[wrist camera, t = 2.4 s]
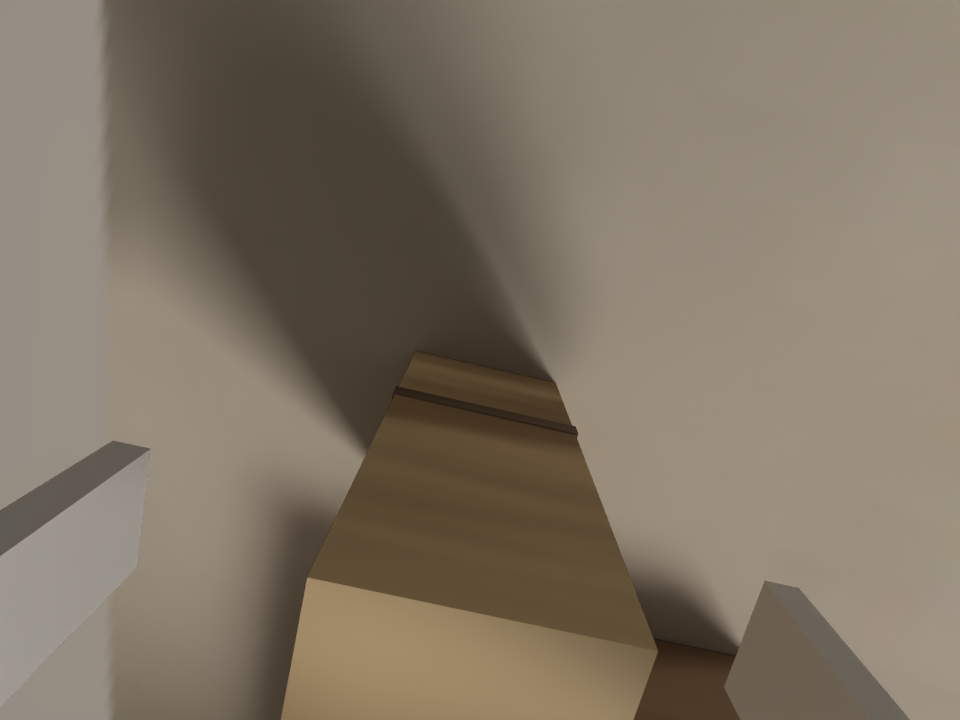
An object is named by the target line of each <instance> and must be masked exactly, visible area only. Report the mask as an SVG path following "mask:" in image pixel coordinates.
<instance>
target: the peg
mask: <svg viewBox="0 0 960 720" xmlns="http://www.w3.org/2000/svg"><path fill="white" fill-rule="evenodd" d="M577 436H578V432H577V429H576V427H575V426H572V424H571V422H570V419H569V416H568V414H567V411H566V409H565V406H564V403H563V401H562V398H561V396H560V393H559V390H558V388H557V385H556V383H553V382H549V381H545V380H540V379H536V378H532V377H527V376H523V375H519V374H514V373H510V372H505V371H501V370H497V369H492V368H488V367H484V366H479V365H475V364H470V363H466V362H462V361H457V360H453V359H449V358H444V357H440V356H436V355H431V354H427V353H422V352H418V351H416V352H415V354H414V356H413V358H412V360H411V362H410V364H409V366H408V369H407V371H406V373H405V375H404V377H403V379H402V381H401V383H400V385H399V387H398V386H396V388H395V390H394V392H393V397H392V401H391V404H390V406H389V408H388V410H387V412H386V414H385V416H384V419H383V421H382V423H381V425H380V427H379V429H378V431H377V433H376V435H375V437H374V439H373V441H372V444H371V446H370V448H369V450H368V452H367V454H366V456H365V458H364V460H363V462H362V464H361V466H360V469H359V471H358V473H357V475H356V477H355V479H354V481H353V483H352V485H351V487H350V489H349V491H348V494H347V496H346V498H345V500H344V502H343V504H342V506H341V508H340V510H339V512H338V514H337V516H336V519H335V521H334V523H333V525H332V527H331V529H330V531H329V533H328V535H327V537H326V539H325V541H324V544H323V546H322V548H321V550H320V552H319V554H318V556H317V558H316V560H315V562H314V564H313V566H312V569H311V571H310V573H309V575H308V577H307V581H306V587H305V592H304V597H303V603H302V608H301V614H300V619H299V624H298V630H297V635H296V640H295V646H294V651H293V656H292V662H291V667H290V673H289V678H288V683H287V689H286V694H285V699H284V705H283V710H282V715H281V720H634V717H635V714H636V711H637V709H638V706H639V703H640V700H641V698H642V695H643V692H644V689H645V686H646V684H647V681H648V678H649V675H650V672H651V670H652V667H653V664H654V661H655V659H656V656H657V653H658V649H657V647H656V644H655V641H654V639H653V636H652V634H651V631H650V628H649V626H648V623H647V621H646V618H645V615H644V613H643V610H642V607H641V605H640V602H639V600H638V597H637V594H636V592H635V589H634V587H633V584H632V581H631V579H630V576H629V573H628V571H627V568H626V566H625V563H624V560H623V558H622V555H621V553H620V550H619V547H618V545H617V542H616V539H615V537H614V534H613V532H612V529H611V526H610V524H609V521H608V518H607V516H606V513H605V511H604V508H603V505H602V503H601V500H600V498H599V495H598V492H597V490H596V487H595V484H594V482H593V479H592V477H591V474H590V471H589V469H588V466H587V464H586V461H585V458H584V456H583V453H582V450H581V448H580V445H579V443H578V440H577Z"/></svg>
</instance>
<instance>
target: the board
mask: <svg viewBox="0 0 960 720" xmlns="http://www.w3.org/2000/svg"><path fill="white" fill-rule="evenodd" d="M654 641H655V644H656V647H657V649H658V653H657V656H656V659H655V661H654V664H653V667H652V670H651V672H650V675H649V678H648V681H647V684H646V686H645V689H644V692H643V695H642V698H641V700H640V703H639V706H638V709H637V711H636V714H635V717H634V720H740V718H739V716H738V714H737V712H736V710H735V708H734V706H733V704H732V702H731V700H730V698H729V696H728V694H727V692H726V690H725V688H724V686H725V683H726V681H727V678H728V675H729V673H730V670H731V668H732V665H733V662H734V660H735V657H736V656H732V655H727V654H722V653H717V652H713V651H708V650H703V649H698V648H694V647H689V646H684V645H679V644H675V643H670V642H665V641H660V640H656V639H654Z"/></svg>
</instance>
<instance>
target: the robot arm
mask: <svg viewBox="0 0 960 720" xmlns="http://www.w3.org/2000/svg"><path fill="white" fill-rule="evenodd" d="M150 451H151V449H149V448H145V447H140V446H136V445H131V444H126V443H122V442H117V441H112V442H110V443H108V444H107V445H105V446H104V447H102V448H100V449H99V450H97V451H95V452H94V453H92V454H91V455H89V456H87V457H86V458H84V459H83V460H81V461H79V462H78V463H76V464H74V465H73V466H71V467H70V468H68V469H66V470H65V471H63V472H62V473H60V474H58V475H57V476H55V477H53V478H52V479H50V480H49V481H47V482H45V483H44V484H42V485H41V486H39V487H37V488H36V489H34V490H32V491H31V492H29V493H28V494H26V495H24V496H23V497H21V498H19V499H18V500H16V501H15V502H13V503H11V504H10V505H8V506H7V507H5V508H3V509H2V510H0V707H1V706H2V705H3V704H4V703H5V702H6V701H7V700H8V699H9V698H10V697H11V696H12V695H13V694H14V693H15V692H16V691H17V690H18V689H19V688H20V687H21V686H22V685H23V684H24V683H25V682H26V681H27V680H28V678H29V677H30V676H31V675H32V674H33V673H34V672H35V671H36V670H37V669H38V668H39V667H40V666H41V665H42V664H43V663H44V662H45V661H46V660H47V659H48V658H49V657H50V656H51V655H52V654H53V653H54V652H55V651H56V650H57V649H58V648H59V647H60V646H61V644H62V643H64V641H65V640H66V639H67V638H68V637H69V636H70V635H71V634H72V633H73V632H74V631H75V630H76V629H77V628H78V627H79V626H80V625H81V624H82V623H83V622H84V621H85V620H86V619H87V618H88V617H89V616H90V615H91V614H92V613H93V612H94V611H95V609H97V607H99V606H100V604H101V603H102V602H103V601H104V600H105V599H106V598H107V597H108V596H109V595H110V594H111V593H112V592H113V591H114V590H115V589H116V588H117V587H118V586H119V585H120V584H121V583H122V582H123V581H124V580H125V579H126V578H127V577H128V576H129V575H130V574H131V573H132V572H133V571H134V570H135V568H136V567H137V563H138V554H139V545H140V537H141V528H142V520H143V511H144V503H145V494H146V486H147V477H148V469H149V460H150ZM724 688H725V690H726V692H727V694H728V696H729V698H730V700H731V702H732V704H733V706H734V708H735V710H736V712H737V714H738V716H739V718H740V720H910V719H909V718H908V717H907V716H906V714H905V713H904V712H903V711H902V710H901V709H900V707H899V706H898V705H897V704H896V703H895V701H894V700H893V699H892V698H891V697H890V695H889V694H888V693H887V692H886V691H885V690H884V688H883V687H882V686H881V685H880V684H879V682H878V681H877V680H876V679H875V678H874V677H873V675H872V674H871V673H870V672H869V671H868V669H867V668H866V667H865V666H864V665H863V664H862V662H861V661H860V660H859V659H858V658H857V656H856V655H855V654H854V653H853V652H852V650H851V649H850V648H849V647H848V646H847V645H846V643H845V642H844V641H843V640H842V639H841V637H840V636H839V635H838V634H837V633H836V632H835V630H834V629H833V628H832V627H831V626H830V624H829V623H828V622H827V621H826V620H825V618H824V617H823V616H822V615H821V614H820V613H819V611H818V610H817V609H816V608H815V607H814V605H813V604H812V603H811V602H810V601H809V600H808V598H807V597H806V596H805V595H804V594H803V592H802V591H801V590H800V589H799V588H796V587H792V586H787V585H782V584H778V583H773V582H768V581H765V582H764V584H763V587H762V589H761V592H760V595H759V597H758V600H757V602H756V605H755V608H754V610H753V613H752V615H751V618H750V621H749V623H748V626H747V628H746V631H745V634H744V636H743V639H742V642H741V644H740V647H739V649H738V652H737V655H736V657H735V660H734V662H733V665H732V668H731V670H730V673H729V675H728V678H727V681H726V683H725V686H724Z"/></svg>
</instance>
